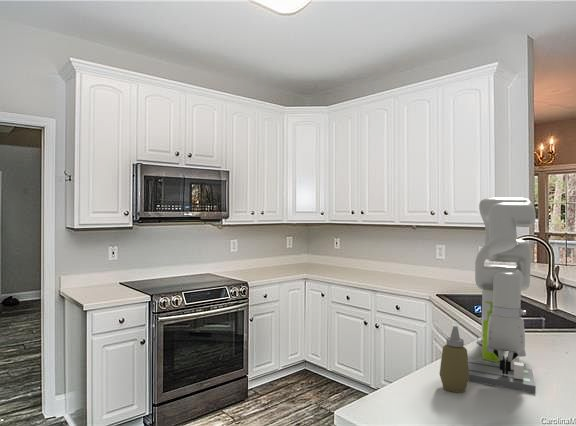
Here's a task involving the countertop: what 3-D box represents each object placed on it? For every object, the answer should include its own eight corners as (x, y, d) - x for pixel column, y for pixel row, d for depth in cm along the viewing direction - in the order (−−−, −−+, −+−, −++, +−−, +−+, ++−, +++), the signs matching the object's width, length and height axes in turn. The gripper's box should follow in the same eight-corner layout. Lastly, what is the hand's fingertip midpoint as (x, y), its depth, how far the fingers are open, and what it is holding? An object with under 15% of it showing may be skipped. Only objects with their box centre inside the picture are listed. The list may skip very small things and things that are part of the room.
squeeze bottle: (433, 385, 124) (434, 324, 124) (454, 382, 127) (455, 322, 127) (453, 396, 116) (455, 331, 116) (475, 392, 119) (476, 329, 120)
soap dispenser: (493, 355, 154) (494, 300, 154) (504, 361, 147) (505, 304, 147) (478, 354, 154) (479, 300, 154) (487, 361, 147) (488, 304, 147)
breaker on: (509, 366, 135) (510, 353, 135) (518, 367, 134) (519, 355, 134) (510, 369, 132) (510, 356, 132) (519, 370, 131) (519, 357, 131)
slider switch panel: (457, 362, 144) (458, 356, 144) (531, 375, 134) (531, 368, 134) (453, 378, 130) (453, 371, 130) (535, 393, 120) (535, 385, 120)
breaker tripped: (513, 374, 127) (513, 361, 128) (522, 376, 126) (523, 363, 126) (513, 378, 125) (514, 364, 125) (523, 379, 124) (523, 366, 124)
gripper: (534, 313, 127) (533, 373, 127) (480, 307, 134) (479, 364, 134) (535, 318, 121) (534, 382, 120) (478, 311, 128) (477, 372, 127)
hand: (505, 372), depth 127 cm, fingers closed
